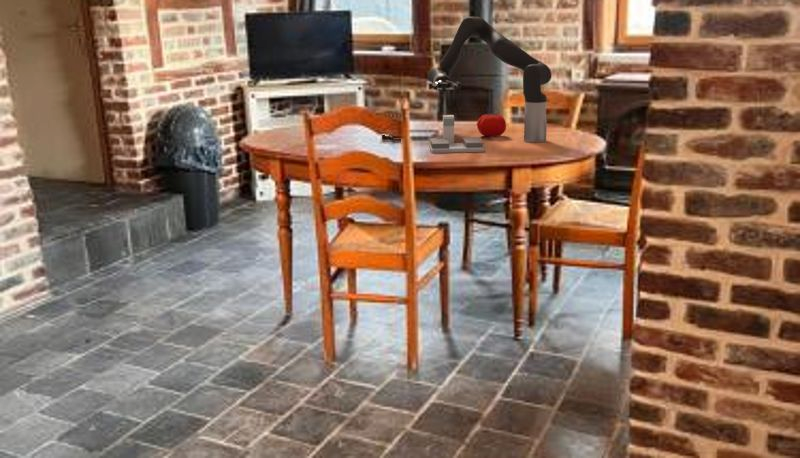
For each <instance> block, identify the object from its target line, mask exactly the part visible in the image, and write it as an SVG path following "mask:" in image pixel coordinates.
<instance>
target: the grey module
mask: <svg viewBox="0 0 800 458" xmlns="http://www.w3.org/2000/svg"><path fill="white" fill-rule="evenodd" d="M442 138H447V140H448V142H449V143H455V116H454V114H443V115H442Z"/></svg>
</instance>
